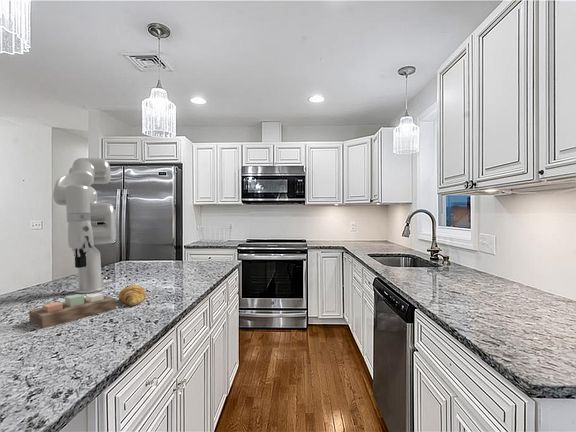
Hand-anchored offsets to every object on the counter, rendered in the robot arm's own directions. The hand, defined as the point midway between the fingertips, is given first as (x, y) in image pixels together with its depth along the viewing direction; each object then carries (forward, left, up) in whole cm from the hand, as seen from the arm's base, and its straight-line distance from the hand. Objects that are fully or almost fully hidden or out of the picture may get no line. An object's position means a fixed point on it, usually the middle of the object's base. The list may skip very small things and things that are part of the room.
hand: (80, 267), depth 122 cm
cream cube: (-5, 0, -16) cm, 16 cm away
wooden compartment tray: (+2, 0, -17) cm, 18 cm away
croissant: (-19, 0, -18) cm, 26 cm away
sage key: (+2, 0, -14) cm, 15 cm away
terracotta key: (+9, 0, -16) cm, 18 cm away
